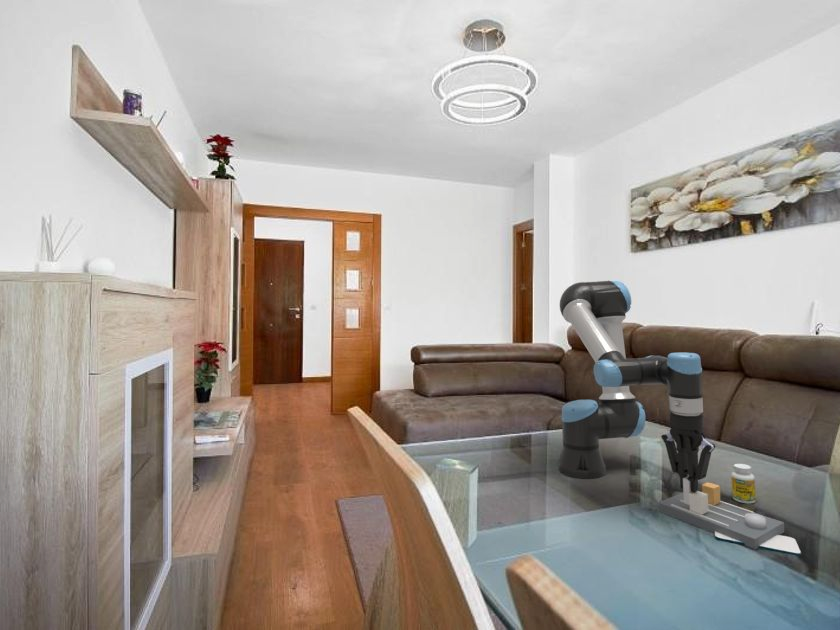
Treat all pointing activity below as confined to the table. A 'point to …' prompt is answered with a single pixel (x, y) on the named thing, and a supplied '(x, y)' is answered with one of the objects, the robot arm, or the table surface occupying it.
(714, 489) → the slider orange
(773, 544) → the smartphone
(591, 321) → the robot arm
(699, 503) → the slider ivory
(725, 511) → the console
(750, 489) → the supplement bottle
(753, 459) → the table surface
